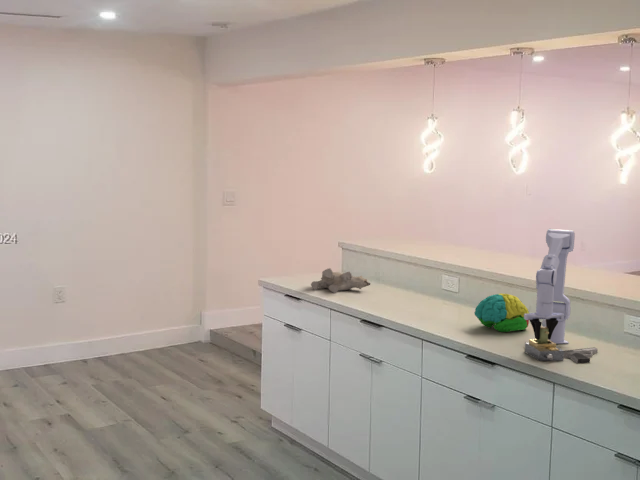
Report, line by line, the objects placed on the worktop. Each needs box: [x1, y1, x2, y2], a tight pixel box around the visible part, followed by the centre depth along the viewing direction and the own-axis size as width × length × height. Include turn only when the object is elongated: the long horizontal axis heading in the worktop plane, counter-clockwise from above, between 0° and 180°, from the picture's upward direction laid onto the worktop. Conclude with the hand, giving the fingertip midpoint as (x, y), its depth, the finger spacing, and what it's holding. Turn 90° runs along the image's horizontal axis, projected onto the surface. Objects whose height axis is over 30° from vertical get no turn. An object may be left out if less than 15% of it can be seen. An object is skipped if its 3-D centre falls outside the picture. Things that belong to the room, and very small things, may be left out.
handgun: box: [563, 346, 598, 364], centre depth 269 cm, size 18×2×12 cm
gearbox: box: [524, 338, 565, 362], centre depth 268 cm, size 14×9×5 cm, turn 9°
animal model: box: [310, 267, 371, 294], centre depth 386 cm, size 14×28×17 cm
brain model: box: [474, 293, 530, 333], centre depth 309 cm, size 24×19×15 cm
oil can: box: [537, 325, 549, 344], centre depth 269 cm, size 5×4×6 cm
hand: (542, 338), depth 270 cm, fingers closed on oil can, 4 cm apart
